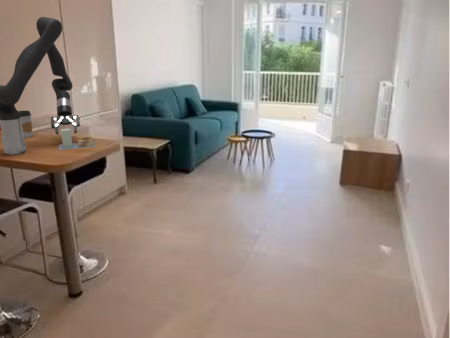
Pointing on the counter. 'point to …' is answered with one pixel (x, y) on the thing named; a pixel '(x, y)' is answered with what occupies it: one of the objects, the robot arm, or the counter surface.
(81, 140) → the socket block
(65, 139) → the pillar
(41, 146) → the counter surface
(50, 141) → the counter surface
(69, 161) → the counter surface
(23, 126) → the coffee cup
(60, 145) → the blueprint board
